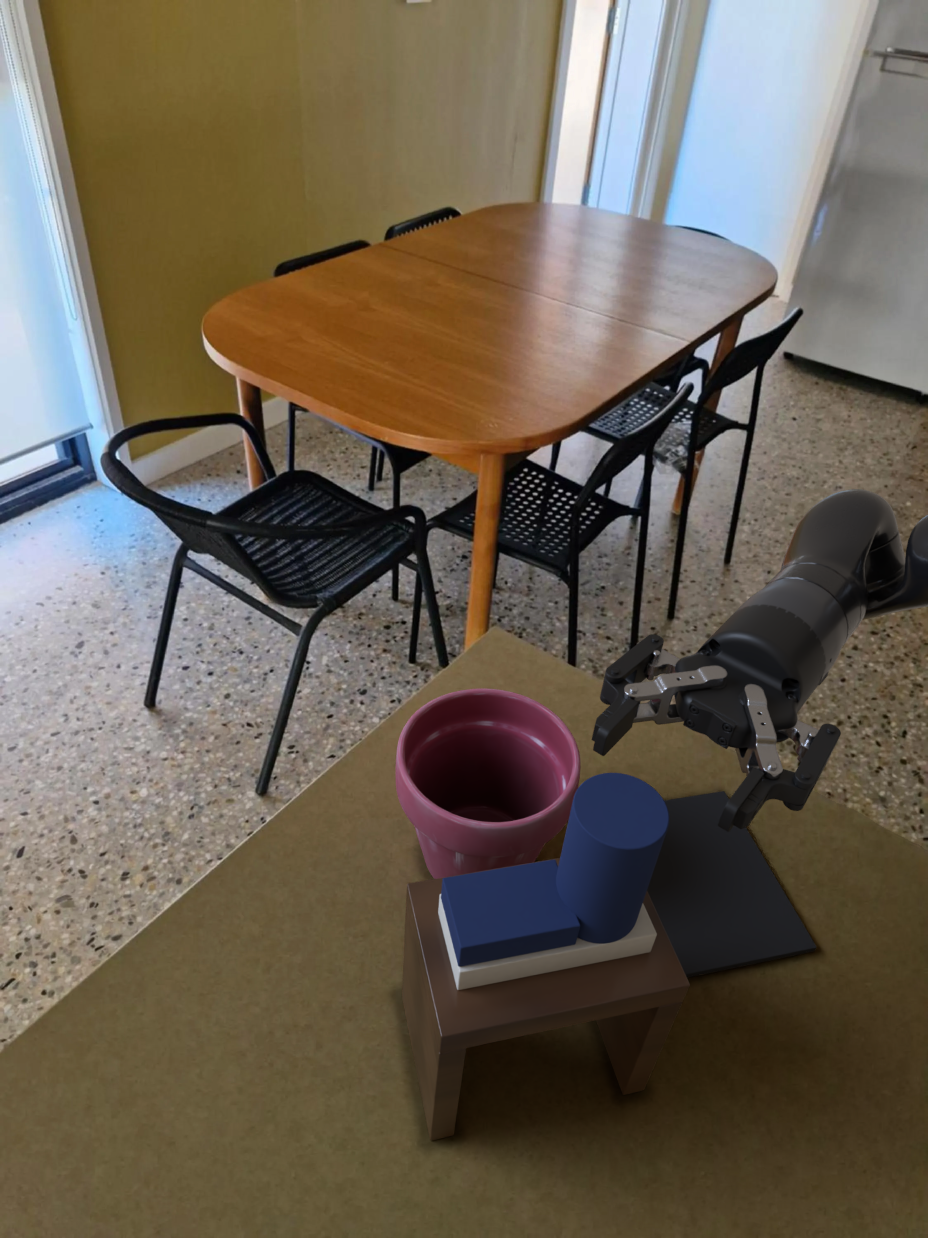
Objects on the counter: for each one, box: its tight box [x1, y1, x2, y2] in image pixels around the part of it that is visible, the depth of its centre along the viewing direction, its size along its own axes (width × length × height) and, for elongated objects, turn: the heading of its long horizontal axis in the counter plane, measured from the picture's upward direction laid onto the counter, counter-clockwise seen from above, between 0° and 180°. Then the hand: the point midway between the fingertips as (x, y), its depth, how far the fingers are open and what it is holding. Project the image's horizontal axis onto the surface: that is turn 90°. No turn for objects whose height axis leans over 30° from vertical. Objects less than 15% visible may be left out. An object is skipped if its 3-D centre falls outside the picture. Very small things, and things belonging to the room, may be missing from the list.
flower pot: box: [395, 688, 582, 879], centre depth 71 cm, size 14×14×13 cm
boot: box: [438, 772, 669, 990], centre depth 51 cm, size 12×5×11 cm, turn 104°
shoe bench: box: [401, 857, 691, 1141], centre depth 58 cm, size 10×15×14 cm, turn 104°
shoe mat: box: [647, 790, 818, 979], centre depth 74 cm, size 16×12×1 cm
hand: (660, 780), depth 52 cm, fingers open, 8 cm apart
